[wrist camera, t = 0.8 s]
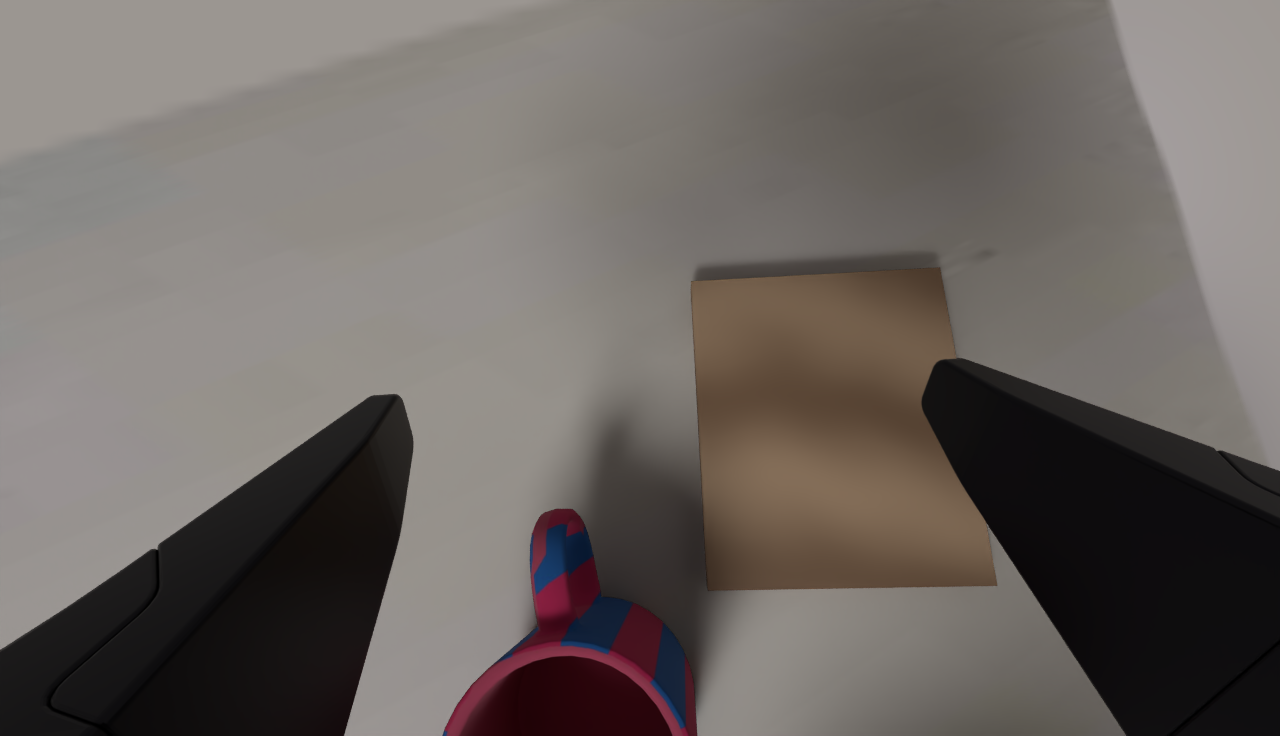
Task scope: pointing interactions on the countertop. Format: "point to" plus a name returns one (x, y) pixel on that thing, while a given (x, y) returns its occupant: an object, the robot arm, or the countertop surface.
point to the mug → (580, 657)
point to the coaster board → (828, 435)
